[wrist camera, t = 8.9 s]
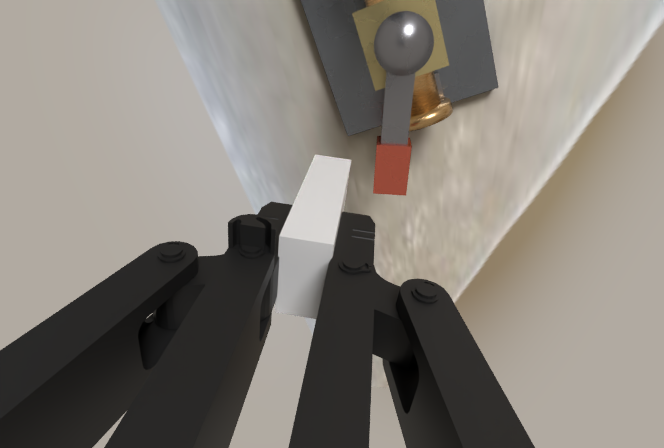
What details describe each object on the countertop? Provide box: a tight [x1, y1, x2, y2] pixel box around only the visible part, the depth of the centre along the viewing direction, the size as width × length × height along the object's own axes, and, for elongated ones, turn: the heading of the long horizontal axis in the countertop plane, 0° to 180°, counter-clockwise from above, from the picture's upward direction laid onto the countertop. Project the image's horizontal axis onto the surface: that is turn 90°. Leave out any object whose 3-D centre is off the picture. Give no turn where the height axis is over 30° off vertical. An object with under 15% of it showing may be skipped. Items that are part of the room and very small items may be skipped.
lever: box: [373, 11, 434, 195], centre depth 30 cm, size 13×4×2 cm, turn 179°
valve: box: [301, 0, 498, 136], centre depth 34 cm, size 15×15×10 cm
